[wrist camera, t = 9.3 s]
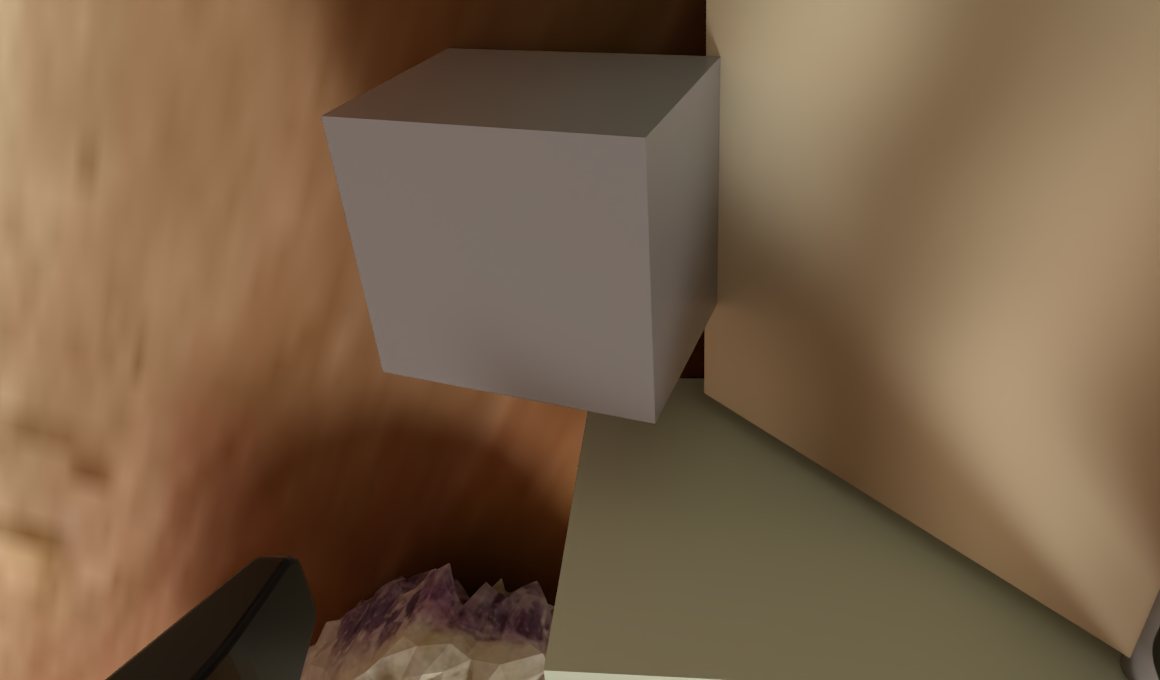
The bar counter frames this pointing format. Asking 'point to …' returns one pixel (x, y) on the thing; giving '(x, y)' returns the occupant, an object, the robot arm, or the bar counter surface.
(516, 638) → the geode
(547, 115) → the grey block
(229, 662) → the robot arm
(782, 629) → the pale green open box
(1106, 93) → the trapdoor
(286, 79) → the bar counter surface
